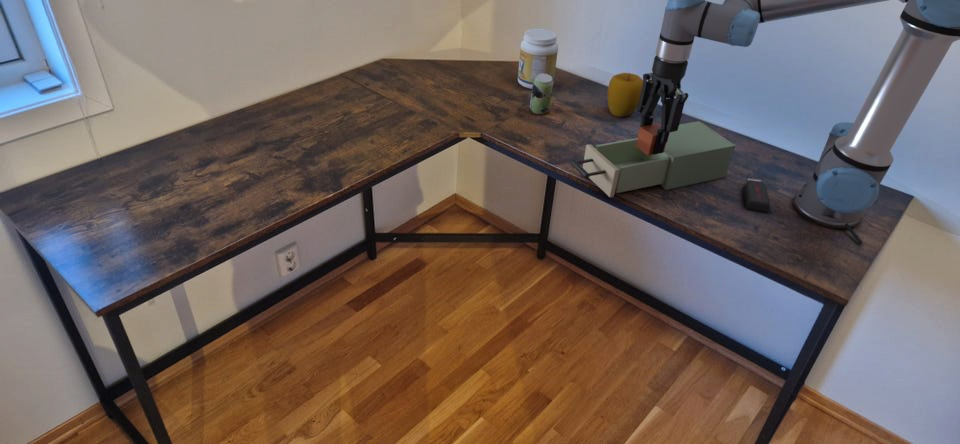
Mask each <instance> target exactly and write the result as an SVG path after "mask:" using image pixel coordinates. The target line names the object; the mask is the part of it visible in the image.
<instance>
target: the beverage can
mask: <svg viewBox="0 0 960 444" xmlns="http://www.w3.org/2000/svg"><path fill="white" fill-rule="evenodd" d="M553 88H554V83H553V80H552V77H551V76H550V75H548V74H544V73H541V74H538V75H537V76H536V77H535V78H534V80H533V87H532V89H531V95H530V101H529V110H530V111H531V112H532V113H534V114H537V115H544V114H546V113H548V112H549V111H550V107H551V100H552V94H553Z"/></svg>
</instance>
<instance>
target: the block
mask: <svg viewBox="0 0 960 444" xmlns="http://www.w3.org/2000/svg"><path fill="white" fill-rule="evenodd" d="M658 129H661V125H659V124H657V123H653V124H652V125H647V126H642V127H640V126H639V129H638V134H637V137H636V138H637V143H636V147H637V148H638V149H640V150H641V151H642V152H644V153H645V154H647V155H648V156H649V155H654V154H652V152H653V148H654V144H655V140H656V136H657V131H658ZM665 146H666V143H665ZM665 146H664V150H665ZM664 150H663V152H664Z"/></svg>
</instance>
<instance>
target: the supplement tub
mask: <svg viewBox="0 0 960 444" xmlns="http://www.w3.org/2000/svg"><path fill="white" fill-rule="evenodd" d="M557 36H558V35H557V33H556V32H554V31H553V30H550V29H546V28H530V29H529V28H528V29H526V30H525V31H524V35H523V40H522V41H521V43H520V48H519V59H518V61H519V62H518V69H517V70H518V72H517V82H518V84H519V85H521V86H522V87H524V88H527V89H531V90H532V87H533V80H534V78H535V77H536V76H537V75H538V74H541V73H544V74H548V75H550V76H551V77H552V80H553V84H554V83H555V74H556V68H557V60H558V54H559V53H558V52H559V45H558V43H557V40H558V39H557V38H558V37H557Z"/></svg>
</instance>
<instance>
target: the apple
mask: <svg viewBox="0 0 960 444" xmlns="http://www.w3.org/2000/svg"><path fill="white" fill-rule="evenodd" d="M642 86H643V78H642V77H640V75H638V74H635V73H630V72H621V73H618V74H615V75H613V76H612V77H611V79H610V80H609V83H608V87H607V93H606V100H607V107H608V109H609V112H610V114H611V115H613V116H615V117H618V118H623V117H628V116H630V115H631V114H633V113H634V112H635V111H636V110H637V107H638V103H639V99H640V94H641V90H642Z"/></svg>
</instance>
